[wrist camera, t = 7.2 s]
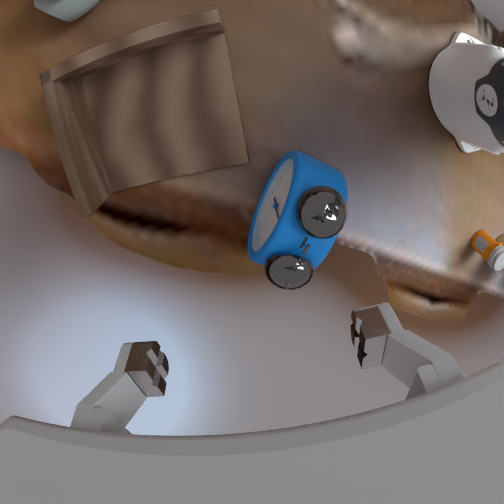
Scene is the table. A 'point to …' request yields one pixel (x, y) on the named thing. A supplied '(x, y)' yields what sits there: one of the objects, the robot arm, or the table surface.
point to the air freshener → (65, 8)
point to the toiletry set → (490, 249)
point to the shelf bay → (145, 108)
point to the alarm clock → (297, 219)
